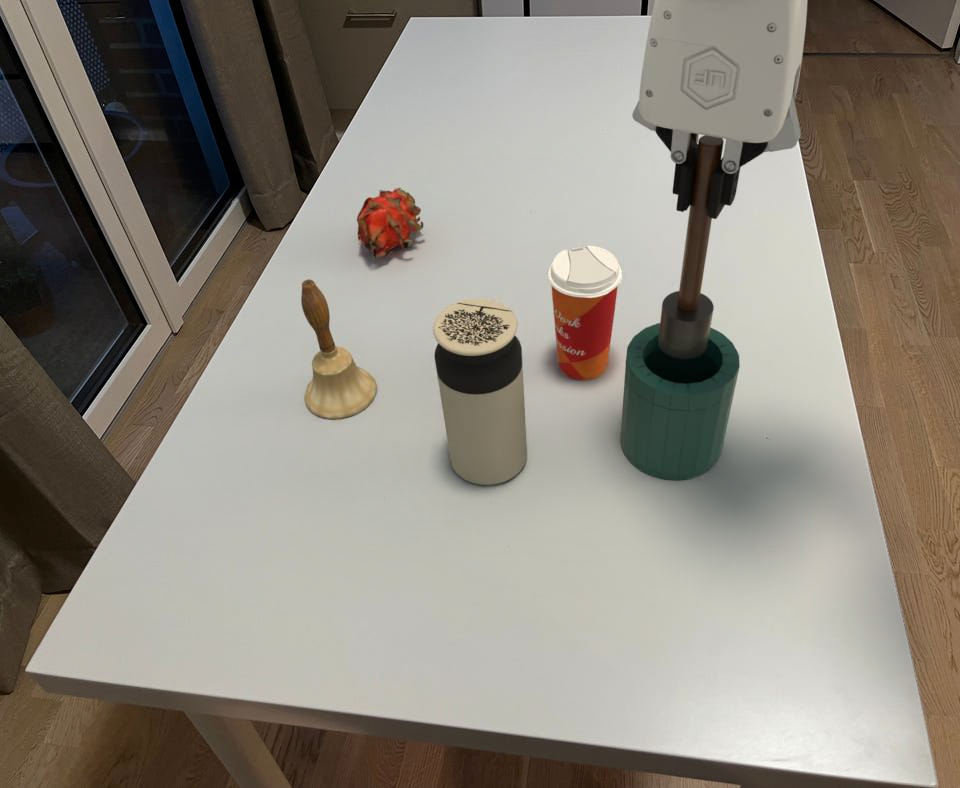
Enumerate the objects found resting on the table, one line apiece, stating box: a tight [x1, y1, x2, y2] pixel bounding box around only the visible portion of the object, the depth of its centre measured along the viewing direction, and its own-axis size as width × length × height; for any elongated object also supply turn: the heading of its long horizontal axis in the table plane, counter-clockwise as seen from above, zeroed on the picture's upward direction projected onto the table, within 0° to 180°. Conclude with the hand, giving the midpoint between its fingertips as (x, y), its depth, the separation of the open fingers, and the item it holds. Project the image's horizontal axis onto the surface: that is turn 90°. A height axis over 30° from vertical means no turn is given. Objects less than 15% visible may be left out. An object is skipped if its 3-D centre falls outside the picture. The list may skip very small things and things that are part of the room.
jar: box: [620, 322, 740, 481], centre depth 78 cm, size 10×10×12 cm
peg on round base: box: [658, 135, 725, 359], centre depth 66 cm, size 4×4×20 cm
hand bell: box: [300, 278, 378, 420], centre depth 85 cm, size 8×8×16 cm
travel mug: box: [432, 298, 528, 486], centre depth 76 cm, size 8×8×18 cm
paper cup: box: [547, 245, 623, 381], centre depth 86 cm, size 8×8×14 cm
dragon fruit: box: [356, 187, 424, 259], centre depth 109 cm, size 8×8×12 cm
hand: (702, 204), depth 62 cm, fingers closed on peg on round base
